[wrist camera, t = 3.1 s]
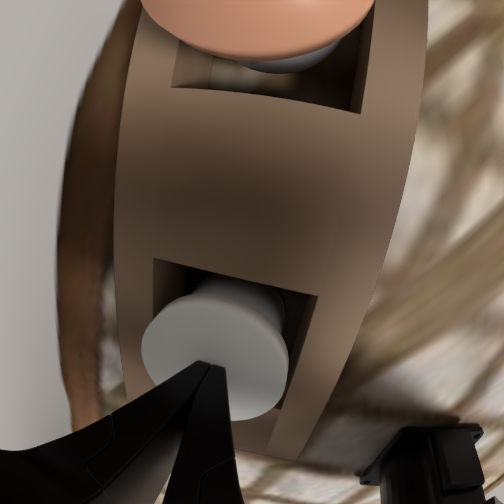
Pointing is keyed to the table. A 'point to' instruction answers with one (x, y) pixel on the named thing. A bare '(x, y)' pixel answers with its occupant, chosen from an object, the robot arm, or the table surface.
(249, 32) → the terracotta plunger
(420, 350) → the table surface
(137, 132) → the walnut panel
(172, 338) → the white domed knob
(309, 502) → the table surface
